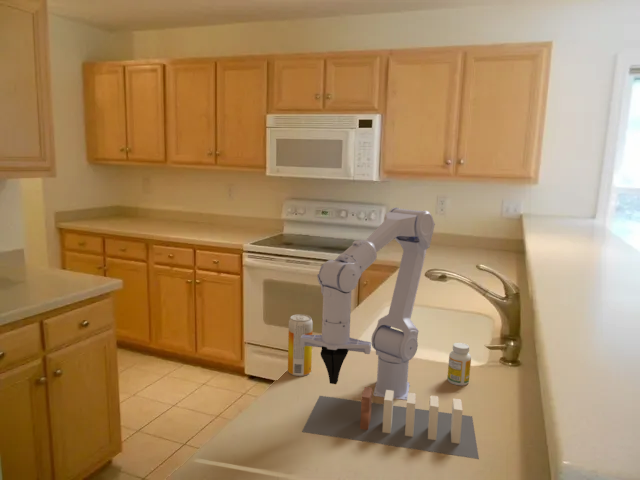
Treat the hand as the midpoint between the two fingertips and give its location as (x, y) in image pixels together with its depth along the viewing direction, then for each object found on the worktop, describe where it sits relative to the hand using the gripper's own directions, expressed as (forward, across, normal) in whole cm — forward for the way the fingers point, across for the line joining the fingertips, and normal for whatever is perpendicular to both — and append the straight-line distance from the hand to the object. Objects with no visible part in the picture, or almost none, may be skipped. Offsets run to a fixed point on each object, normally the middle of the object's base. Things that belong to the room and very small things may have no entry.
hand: (333, 381), depth 101 cm
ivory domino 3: (+8, +21, 0) cm, 22 cm away
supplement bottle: (+9, +27, +28) cm, 40 cm away
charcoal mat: (+9, +12, +2) cm, 15 cm away
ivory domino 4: (+8, +25, 0) cm, 26 cm away
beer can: (+9, -13, +21) cm, 26 cm away
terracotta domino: (+8, +7, 0) cm, 11 cm away
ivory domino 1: (+8, +12, 0) cm, 14 cm away
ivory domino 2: (+8, +16, 0) cm, 18 cm away
